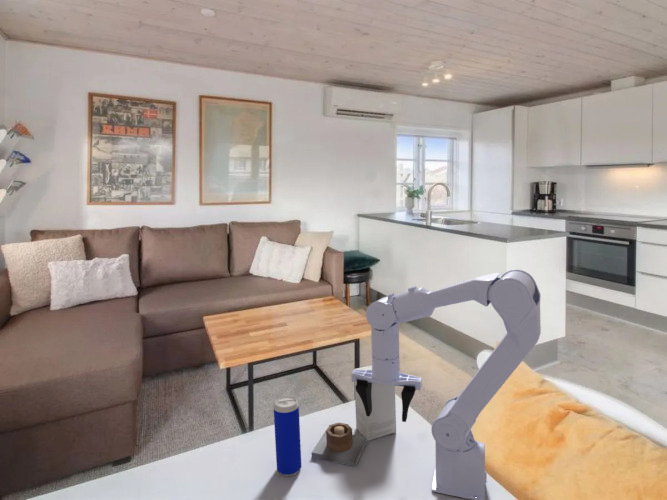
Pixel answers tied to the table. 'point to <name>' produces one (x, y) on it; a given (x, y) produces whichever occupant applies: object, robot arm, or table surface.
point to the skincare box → (376, 411)
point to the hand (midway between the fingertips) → (386, 416)
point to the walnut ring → (339, 438)
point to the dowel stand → (344, 457)
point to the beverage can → (287, 435)
